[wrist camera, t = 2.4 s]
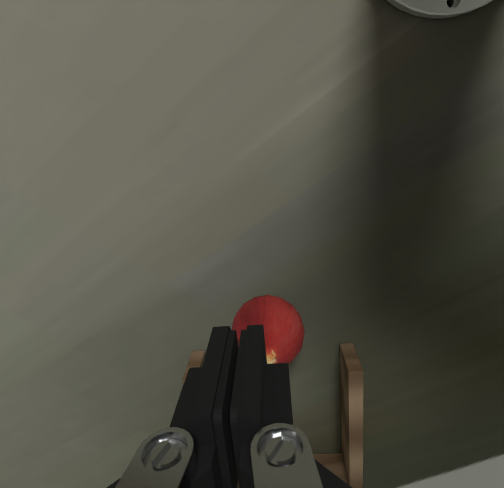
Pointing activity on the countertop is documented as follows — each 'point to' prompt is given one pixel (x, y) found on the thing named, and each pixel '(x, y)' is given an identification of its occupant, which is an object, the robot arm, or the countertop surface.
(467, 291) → the countertop surface
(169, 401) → the countertop surface
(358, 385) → the wooden tray
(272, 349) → the onion
